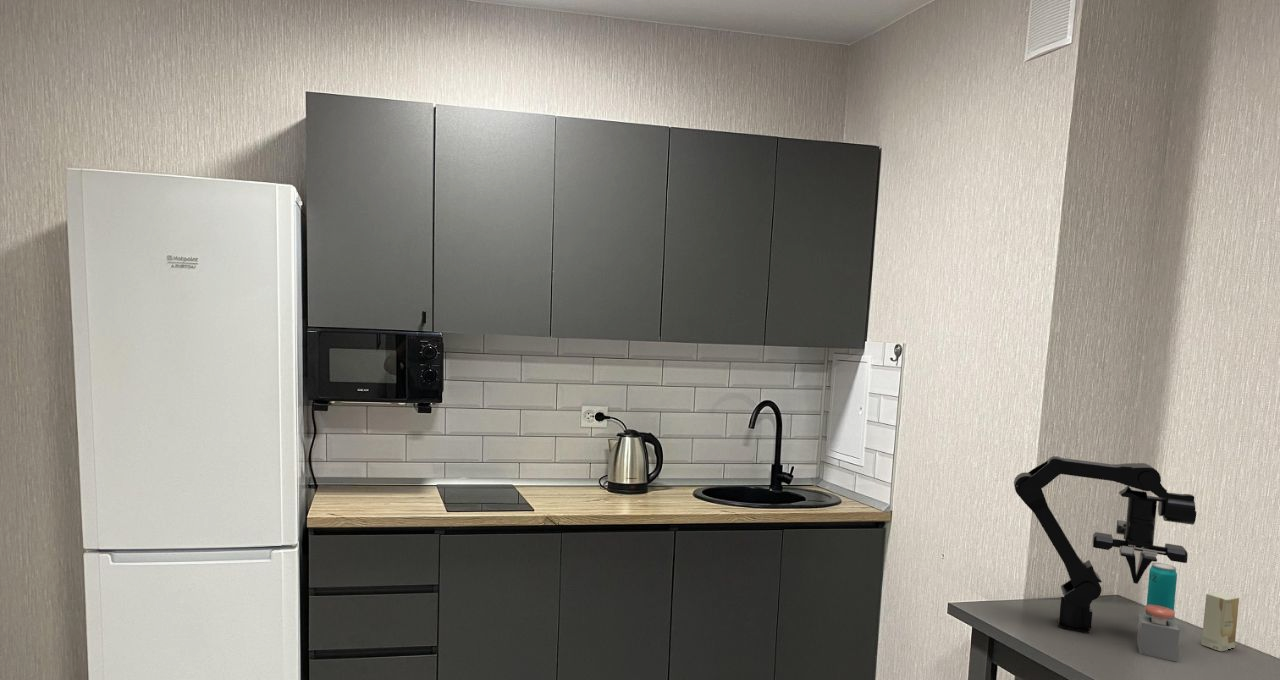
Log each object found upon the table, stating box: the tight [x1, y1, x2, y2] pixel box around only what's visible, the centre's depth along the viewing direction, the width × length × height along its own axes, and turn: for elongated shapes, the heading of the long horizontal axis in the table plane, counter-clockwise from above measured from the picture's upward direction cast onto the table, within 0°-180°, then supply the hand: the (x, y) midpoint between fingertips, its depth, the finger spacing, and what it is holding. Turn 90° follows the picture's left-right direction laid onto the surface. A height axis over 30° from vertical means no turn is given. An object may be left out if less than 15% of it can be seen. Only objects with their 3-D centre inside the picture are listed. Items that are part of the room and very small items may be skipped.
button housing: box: [1136, 613, 1180, 663], centre depth 181 cm, size 7×7×7 cm
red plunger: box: [1144, 604, 1176, 625], centre depth 181 cm, size 6×6×8 cm
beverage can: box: [1145, 562, 1178, 620], centre depth 199 cm, size 6×6×15 cm
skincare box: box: [1200, 591, 1240, 652], centre depth 187 cm, size 6×4×12 cm
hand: (1135, 583), depth 189 cm, fingers closed
